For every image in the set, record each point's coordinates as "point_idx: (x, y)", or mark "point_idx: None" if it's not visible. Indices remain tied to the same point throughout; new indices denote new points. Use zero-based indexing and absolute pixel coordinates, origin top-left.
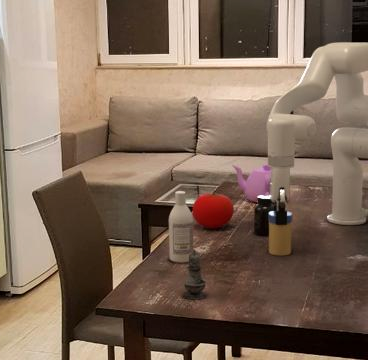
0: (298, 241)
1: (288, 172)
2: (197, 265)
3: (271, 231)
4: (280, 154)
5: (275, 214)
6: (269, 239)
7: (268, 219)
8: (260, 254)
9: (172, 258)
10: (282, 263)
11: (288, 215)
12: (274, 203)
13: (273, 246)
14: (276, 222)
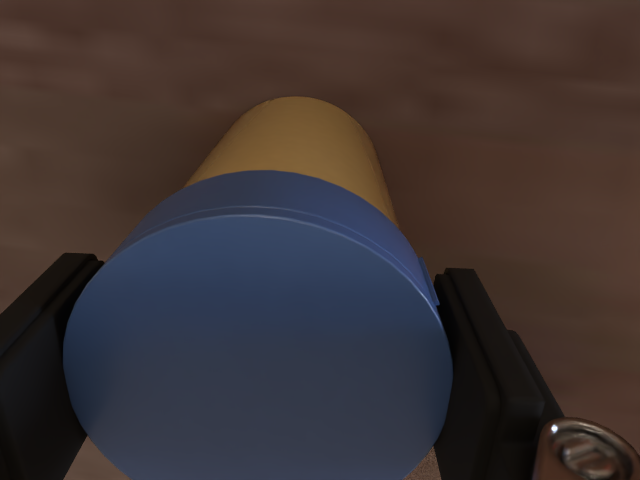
0: (547, 332)
1: None
2: None
3: (204, 165)
4: None
5: (189, 323)
6: (263, 123)
7: (241, 179)
8: (233, 15)
9: None
10: (26, 167)
11: (141, 475)
12: (591, 429)
13: (218, 142)
14: (55, 273)
